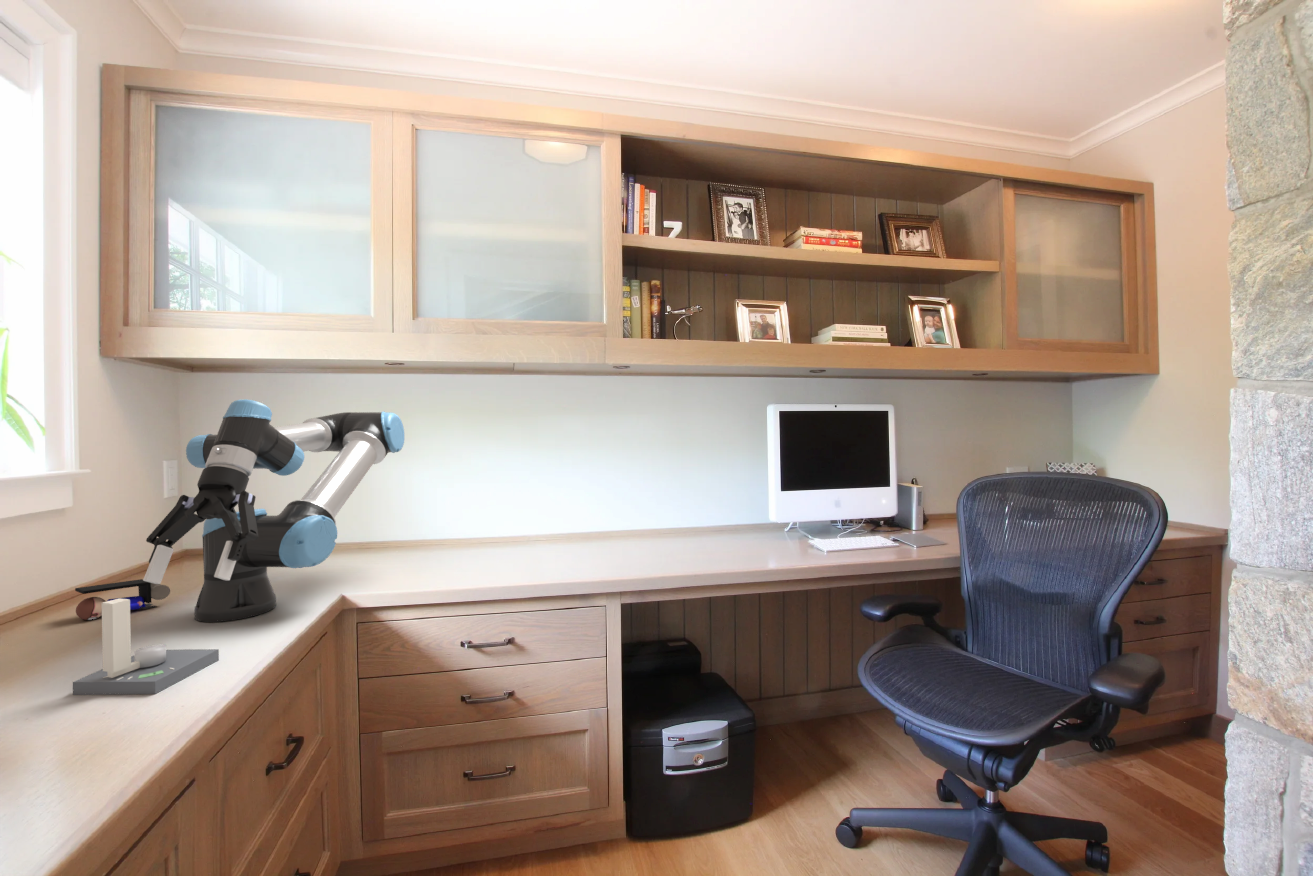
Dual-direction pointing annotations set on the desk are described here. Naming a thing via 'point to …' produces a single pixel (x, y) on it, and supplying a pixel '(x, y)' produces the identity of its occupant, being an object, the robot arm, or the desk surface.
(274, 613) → the desk surface
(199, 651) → the dial plate
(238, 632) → the desk surface
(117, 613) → the lever
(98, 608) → the figurine character
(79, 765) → the desk surface
